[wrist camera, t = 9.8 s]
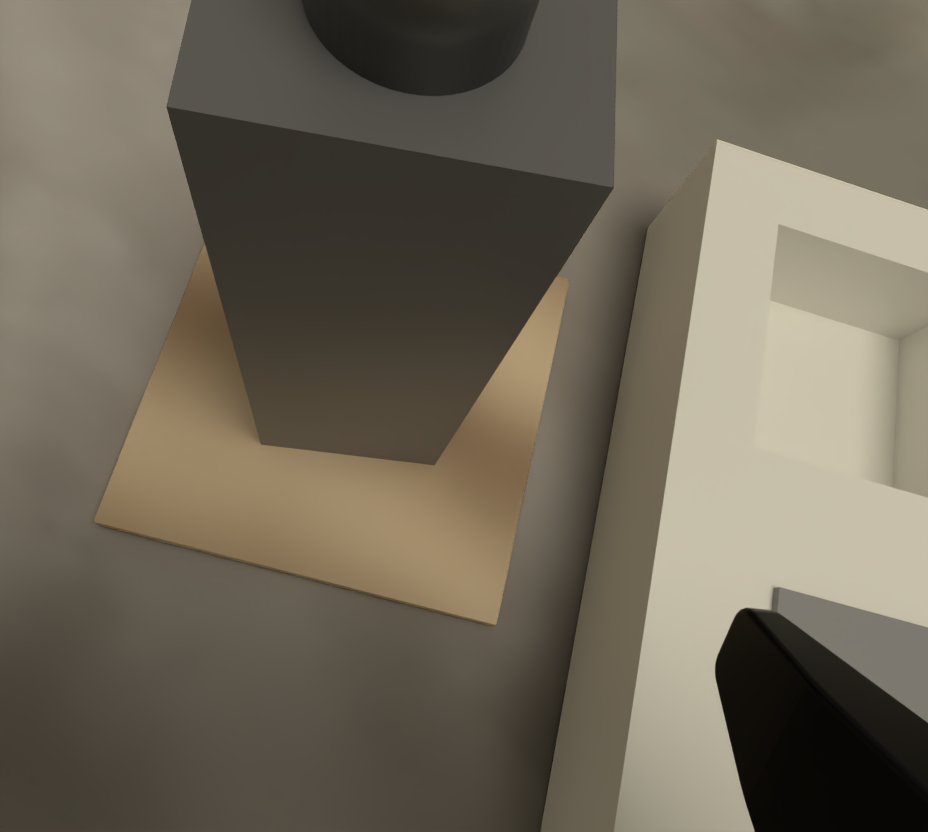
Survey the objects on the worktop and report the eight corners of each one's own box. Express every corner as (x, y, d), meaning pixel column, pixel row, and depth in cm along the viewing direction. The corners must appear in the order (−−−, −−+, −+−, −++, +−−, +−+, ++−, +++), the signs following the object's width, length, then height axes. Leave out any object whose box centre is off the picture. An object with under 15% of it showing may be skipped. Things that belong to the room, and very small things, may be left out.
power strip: (899, 1267, 15) (1125, 1508, 11) (476, 1193, 15) (542, 1424, 10) (930, 318, 23) (1076, 239, 18) (648, 227, 22) (730, 122, 17)
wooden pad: (490, 625, 18) (496, 625, 17) (100, 525, 17) (93, 521, 16) (562, 290, 21) (569, 280, 20) (233, 189, 20) (231, 175, 19)
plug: (434, 465, 18) (722, 21, 5) (261, 444, 17) (104, -115, 5) (446, 332, 19) (709, -309, 6) (283, 308, 18) (206, -455, 6)
